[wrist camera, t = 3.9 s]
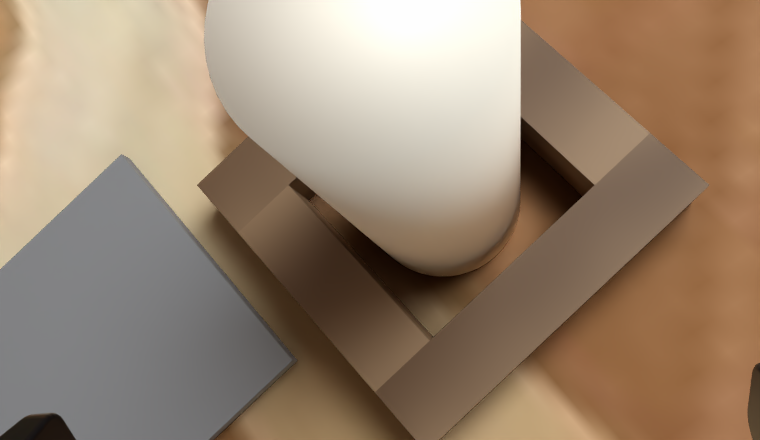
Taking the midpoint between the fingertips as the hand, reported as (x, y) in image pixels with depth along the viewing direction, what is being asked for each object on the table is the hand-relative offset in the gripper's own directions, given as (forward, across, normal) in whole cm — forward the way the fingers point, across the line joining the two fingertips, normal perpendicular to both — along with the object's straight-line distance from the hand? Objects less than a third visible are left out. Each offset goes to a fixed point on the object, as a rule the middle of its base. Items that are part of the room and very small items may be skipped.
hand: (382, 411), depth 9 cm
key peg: (+12, 0, +5) cm, 13 cm away
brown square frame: (+12, 0, +5) cm, 13 cm away
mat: (+10, +11, +7) cm, 16 cm away
